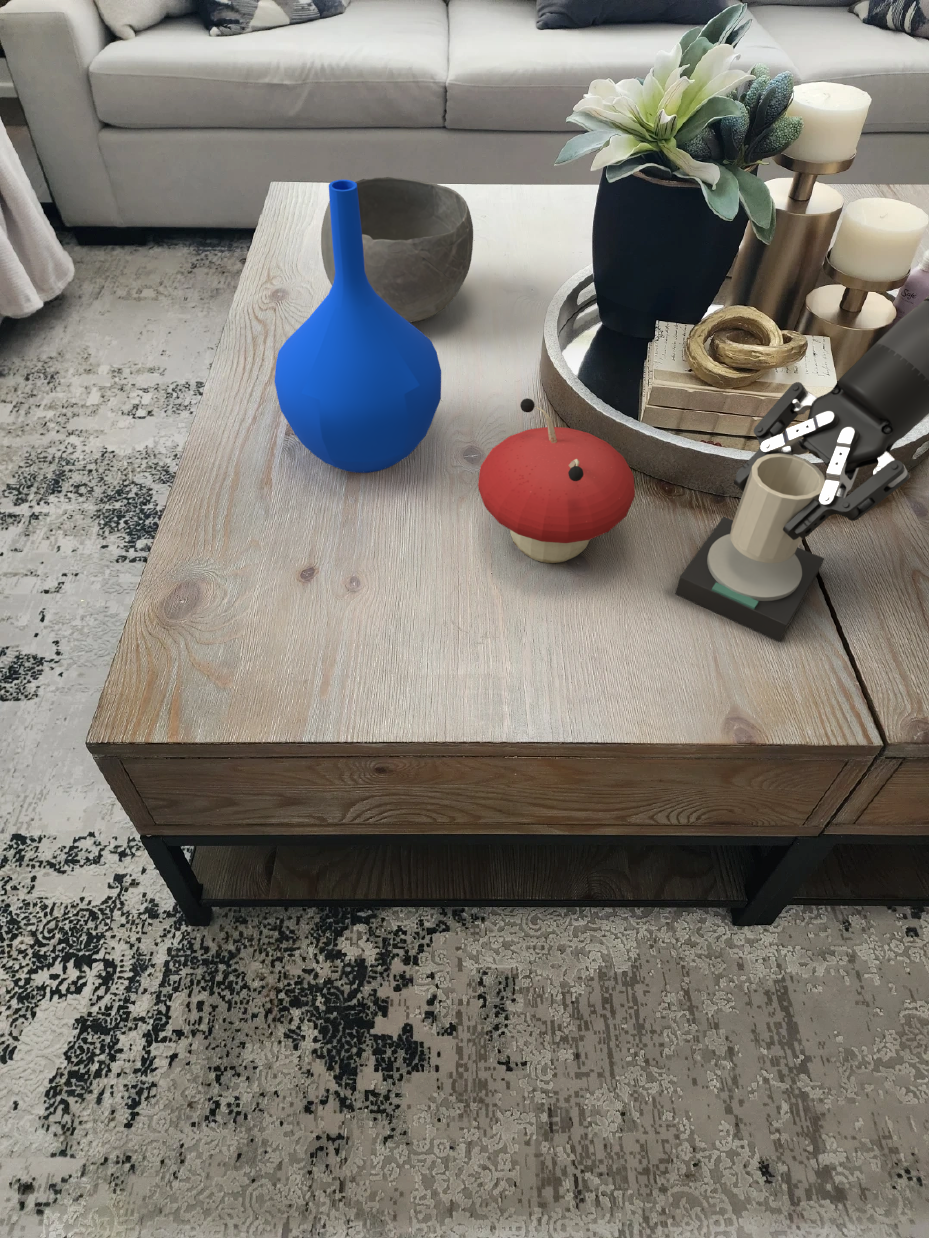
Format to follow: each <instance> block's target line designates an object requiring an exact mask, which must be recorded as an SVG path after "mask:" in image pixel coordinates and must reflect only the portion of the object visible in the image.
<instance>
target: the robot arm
mask: <svg viewBox="0 0 929 1238" xmlns="http://www.w3.org/2000/svg"><path fill="white" fill-rule="evenodd" d="M807 411H809V413H808V415H807V420H804V421H802V422H800V423H797V424H795V425H793V426H792V425H791V424H792V423H793V422H794V421H795V419H796V418H797V417H798V416H801V415H805V414H806V412H807ZM928 415H929V295H928V296H926V297H925V298H924V299H923V301H921V302H920V303H919V304H917V306H915V307H914V308H913V309H912V310H910V311H909V312H908V313H907V314H905V315H904V316H903V317H901V318H900V319H898V321H897V322H896V323H894V324H893V325H892V327H890V328H889V330H887V331H886V332H885V333H884V334H883V335H882V336H881V337H880V338H879V339H878V341H876V342H875V343H874V344H873V345H872V346H871V347H870V348H869V349H868V350H867V351H866V352H865V353H864V354H863V355H862V356H861V357H860V358H859V359H858V360H857V361H856V362H854V364H853V365H852V366H851V367H850V368H849V369H848V370H846V372H844V374H843V375H842V376H840V378H839V379H838V380H837V382H836V384H835V385H834V387H833V388H832V389H831V390H830V391H829V392H827V393H825V394H822V395H819V396H816V395H815V394H813V393H812V392H810V391H809V390H808V389H806V388H805V386H804V385H803V383H802V382H799V381H796V382H793V383H792V384H791V385H790V386H789V387H788V388H787V390H786V391H785V392H784V393H783V394H782V395H781V396H780V397H779V399H778V400H777V401H776V402H775V404H773V406H771V408H770V409H769V410H768V411H767V412H766V413H765V415H764V416H763V417H762V418H761V420H759V422H758V423H757V424H756V425H755V426H754V428H753V434H754V435H755V437H756V439H757V441H758V444H759V447H758V449H757V450H756V451H755V453H754V454H753V455H752V456H751V457H750V458H749V459H747V461H745V463H743V465H742V466H741V467H739V468H738V470H737V472H736V473H735V478H734V479H733V484H734V485H735V486H736V487H737V488H738V489H739V490H740V491H741V492H742V493H743V492H744V489H745V486H746V483H747V480H748V477H749V474H750V471H751V468H752V466H753V465H754V463H755V462H756V460H757V459H759V458H761V457H763V456H765V455H768V454H777V453H782V454H789V455H795V456H801V455H804V454H807V453H810V454H811V455H812V456H814V457H815V458H817V459H819V460H821V461H822V462H823V463H824V465H825V466H826V467H827V469H826V474H825V484H824V486H823V489H822V492H821V494H820V497H819V500H817V501H816V500H815V499H813V500H812V501H811V502H810V503H809V504H808V505H806V506H805V507H804V508H803V509H802V510H801V511H800V512H799V513H798V514H797V515H796V516H795V517H794V518H793V519H791V520H790V521H789V522H788V523H787V524H786V525H785V526H784V528H783V531H784V532H785V533H786V534H787V535H788V536H789V537H790V538H791V539H793V540H796V539H797V538H799V537H801V538H802V539H805V538H806V537H808V536H810V535H811V534H812V533H813V532H814V531H815V530H816V529H817V528H818V527H820V525H822V524H823V523H824V522H825V521H826V520H828V518H829V517H831V516H833V515H839V516H840V517H844V518H847V520H849V521H851V522H855V521H858V520H859V519H861V518H862V517H863V516H864V515H866V514H867V513H868V512H869V511H871V510H872V509H873V508H874V507H876V506H877V505H878V504H880V503H881V502H882V501H883V500H885V499H886V498H887V497H888V496H890V495H891V494H893V493H894V492H895V491H896V490H897V489H899V488H901V486H903V485H904V484H905V483H906V482H908V480H909V479H910V473H909V472H908V470H907V468H906V466H905V465H904V464H903V462H902V461H901V460H899V459H895V458H894V457H893V456H892V454H890V453H891V451H892V448H893V447H894V445H895V444H896V443H897V442H899V440H902V439H903V438H904V437H906V436H907V435H908V434H909V433H910V432H911V431H912V430H913V429H914V428H915V427H916V426H917V425H918V424H919V423H920V422H921V421H923V420H924V419H925V418H926V417H927V416H928ZM790 425H791V426H790ZM789 426H790V427H789ZM876 464H877V465H876ZM871 465H876V466H875V468H874V469H873V471H872V474H873V475H871V476H870V477H869V478H868V479H866V480H865V481H864V482H862V484H861V485H859V486H858V487H857V488H855V489H853V491H852V492H850V493H849V494H848V492H849V491H851V489H852V487H853V485H854V482H855V480H856V477H857V474H858V472H859V469H861V468H863V467H869V466H871ZM847 494H848V495H847Z"/></svg>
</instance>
